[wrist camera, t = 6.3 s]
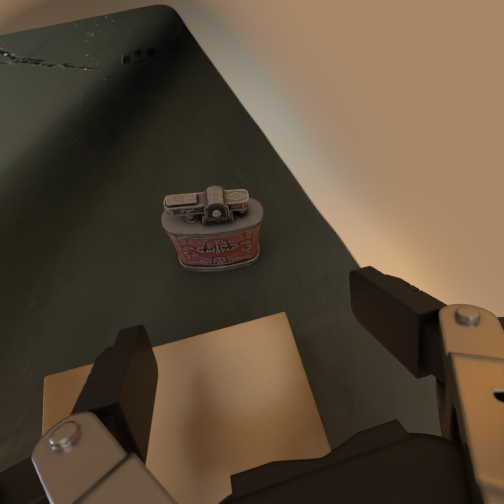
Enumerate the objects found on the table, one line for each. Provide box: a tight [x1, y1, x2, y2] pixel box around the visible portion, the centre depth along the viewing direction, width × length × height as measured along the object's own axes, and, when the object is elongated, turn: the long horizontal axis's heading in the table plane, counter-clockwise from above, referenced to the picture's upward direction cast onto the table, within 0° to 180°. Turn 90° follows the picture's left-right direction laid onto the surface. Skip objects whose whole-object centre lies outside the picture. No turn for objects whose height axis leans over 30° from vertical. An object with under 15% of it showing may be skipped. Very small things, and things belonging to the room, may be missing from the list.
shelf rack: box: [42, 312, 331, 504], centre depth 20 cm, size 15×10×8 cm, turn 105°
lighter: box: [161, 186, 263, 272], centre depth 25 cm, size 8×3×10 cm, turn 97°
